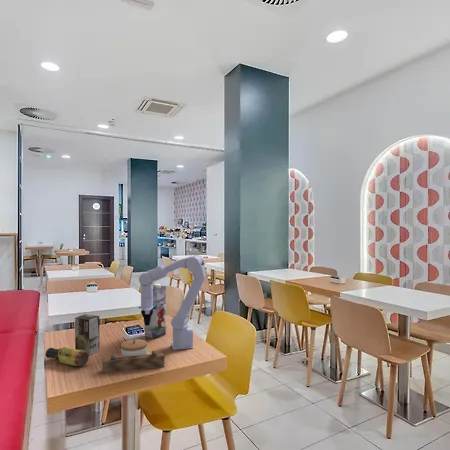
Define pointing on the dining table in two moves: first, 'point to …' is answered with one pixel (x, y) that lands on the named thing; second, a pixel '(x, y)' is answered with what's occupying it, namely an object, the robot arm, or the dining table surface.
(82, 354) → the sauce bottle
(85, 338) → the coffee box
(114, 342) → the dining table surface
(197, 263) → the robot arm
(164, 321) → the juice carton
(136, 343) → the lidded jar
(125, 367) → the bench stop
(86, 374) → the dining table surface
